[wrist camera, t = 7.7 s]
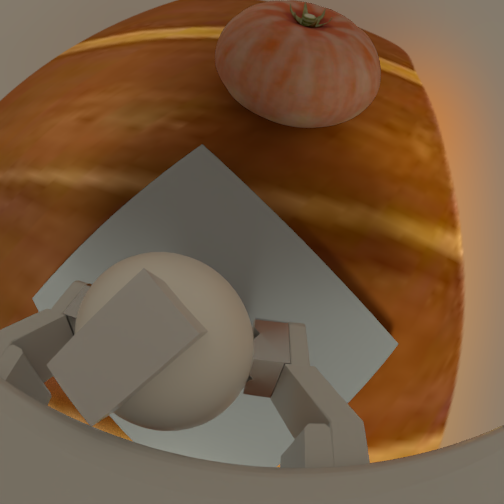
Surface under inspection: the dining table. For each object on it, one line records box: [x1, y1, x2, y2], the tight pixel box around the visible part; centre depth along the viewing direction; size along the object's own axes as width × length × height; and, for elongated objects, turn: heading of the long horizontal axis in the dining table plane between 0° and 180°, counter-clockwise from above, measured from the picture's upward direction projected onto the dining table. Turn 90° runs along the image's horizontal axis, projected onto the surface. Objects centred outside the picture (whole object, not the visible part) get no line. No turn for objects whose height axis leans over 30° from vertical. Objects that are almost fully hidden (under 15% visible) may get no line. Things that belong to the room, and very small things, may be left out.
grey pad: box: [32, 144, 398, 467], centre depth 13 cm, size 16×14×1 cm
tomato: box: [215, 1, 381, 128], centre depth 14 cm, size 11×11×8 cm
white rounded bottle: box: [47, 252, 254, 431], centre depth 8 cm, size 4×4×10 cm
